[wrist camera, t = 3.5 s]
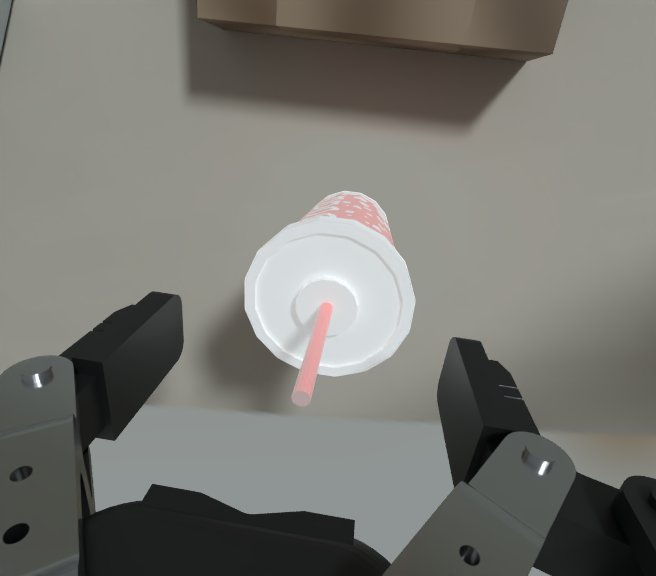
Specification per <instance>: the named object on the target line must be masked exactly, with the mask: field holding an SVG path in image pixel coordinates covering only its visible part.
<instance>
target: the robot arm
mask: <svg viewBox="0 0 656 576" xmlns="http://www.w3.org/2000/svg"><path fill="white" fill-rule="evenodd" d="M183 343H184V337H183V318H182V302H181V298H180V296H179V295H174V294H168V293H161V292H154V291H153V292H151V293H149V294H148V295H147V296H146V297H144V298H143V299H142V300H141V301H139V302H138V303H137V304H136V305H130V306H128V307H125V308H123V309H120V310H118V311H116V312H114V313H113V314H111V315H110V316H109V317H108V318H106V319H105V320H104V321H103V323H100V324H99V325H97V326H96V327H95V328H94V329H93V331H90V332H88V333H87V334H86V335H85V336H83V337H82V338H81V339H80V340H78V341H77V342H76V343H74V344H73V345H72V346H71V347H69V348H68V349H67V350H66V351H64V352H63V353H62V354H60V355H59V356H52V355H49V356H39V357H34V358H30V359H27V360H24V361H21V362H19V363H17V364H15V365H13V366H11V367H9V368H8V369H7V370H5V371H4V372H3V373H2V374H1V375H0V576H528V574H529V572H530V570H531V568H532V567H535V568H537V569H539V570H541V571H543V572H545V573H547V574H549V575H551V576H656V479H653V478H649V477H645V476H631V477H629V478H627V479H626V480H625V481H624V482H623V484H622V486H621V487H620V489H617V488H614V487H612V486H609V485H607V484H604V483H602V482H599V481H597V480H594V479H592V478H589V477H587V476H584V475H582V474H580V473H578V472H576V470H575V466H574V464H573V462H572V460H571V458H570V457H569V456H568V455H567V454H566V452H565V451H563V450H562V449H561V448H560V447H559V446H557V445H556V444H555V443H553V442H552V441H550V440H548V439H546V438H544V437H542V436H540V433H539V431H538V429H537V427H536V425H535V423H534V421H533V419H532V417H531V415H530V413H529V411H528V409H527V407H526V404H525V402H524V400H522V396H521V394H520V392H519V390H518V389H517V386H516V384H515V382H514V380H513V378H512V376H511V374H510V373H509V372H508V371H507V370H506V369H505V368H504V367H503V366H502V365H501V364H500V363H499V362H498V361H493V360H488V357H487V355H486V353H485V350H484V348H483V346H482V343H481V342H480V341H477V340H470V339H463V338H457V337H453V338H452V339H451V340H450V343H449V346H448V350H447V354H446V357H445V361H444V364H443V368H442V372H441V375H440V379H439V383H438V391H437V402H438V407H439V413H440V418H441V423H442V428H443V433H444V438H445V443H446V449H447V453H448V458H449V464H450V469H451V474H452V480H453V485H454V489H453V490H452V492H451V493H450V494H449V495H448V496H447V498H446V499H445V500H444V501H443V502H442V504H441V505H440V506H439V507H438V509H437V510H436V511H435V512H434V513H433V514H432V516H431V517H430V518H429V519H428V521H427V522H426V523H425V524H424V525H423V527H422V528H421V529H420V530H419V532H418V533H417V534H416V535H415V536H414V537H413V539H412V540H411V541H410V542H409V544H408V545H407V546H406V547H405V548H404V550H403V551H402V552H401V553H400V554H399V556H398V557H397V558H396V559H395V560H394V562H393V563H392V564H390V562H388V560H386V559H385V558H384V557H383V556H382V555H380V554H379V553H378V552H376V551H375V550H374V549H373V548H371V547H369V546H368V545H366V544H364V543H363V542H361V541H359V540H357V539H354V524H355V520H350V519H345V518H339V517H334V516H328V515H323V514H317V513H311V512H306V511H300V512H284V513H283V512H282V513H267V514H246V513H243V512H241V511H239V510H237V509H235V508H232V507H230V506H228V505H226V504H224V503H222V502H220V501H218V500H216V499H213V498H211V497H209V496H207V495H205V494H203V493H200V492H195V491H189V490H184V489H178V488H172V487H167V486H161V485H156V484H152V485H151V487H150V489H149V490H148V492H147V494H146V495H145V497H144V499H143V500H142V501H135V502H129V503H124V504H120V505H117V506H113V507H109V508H107V509H104V510H102V511H99V512H96V511H95V501H94V489H93V478H92V467H91V455H90V449H89V445H90V444H91V442H92V441H93V440H94V439H95V438H101V439H107V440H113V441H115V440H116V438H117V437H118V436H119V435H120V433H121V432H122V431H123V430H124V428H125V427H126V426H127V425H128V423H129V422H130V421H131V419H132V418H133V417H134V416H135V414H136V413H137V412H138V411H139V409H140V408H141V407H142V405H143V404H144V403H145V402H146V400H147V399H148V398H149V397H150V395H151V394H152V393H153V391H154V390H155V389H156V388H157V386H158V385H159V384H160V383H161V381H162V380H163V379H164V377H165V376H166V375H167V374H168V372H169V371H170V370H171V369H172V367H173V366H174V365H175V363H176V362H177V361H178V359H179V358H180V355H181V353H182V349H183Z"/></svg>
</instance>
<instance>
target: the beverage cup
mask: <svg viewBox="0 0 656 576" xmlns="http://www.w3.org/2000/svg"><path fill="white" fill-rule="evenodd" d="M414 306H415V296H414V292H413V289H412V285H411V281H410V277H409V273H408V269H407V266H406V262H405V261H404V260H403V258H402V257H401V256H400V255H399V253H398V252H397V251H396V249H395V248H394V244H393V240H392V236H391V233H390V229H389V225H388V221H387V218H386V214H385V213H384V211H383V210H382V209H381V208H380V206H379V205H378V204H377V202H376V201H375V200H373V199H371V198H369V197H367V196H366V195H364V194H362V193H358V192H349V191H342V192H338V193H335V194H331V195H328V196H327V197H325V198H324V199H323V200H322V201H321V202H319V203H318V204H317V205H316V206H315V207H314V208H313V209H311V210H310V211H309V212H308V213H307V214H306V215H305V216H304V217H303V218H302V219H301V220H300V221H299V222H296V223H293V224H289V225H288V226H286V227H285V228H284V229H283V230H281V231H280V232H279V233H278V234H277V235H275V236H274V237H273V238H272V239H271V240H269V241H268V242H267V243H266V244H265V245H264V246H263V247H261V248H260V249H259V250H258V252H257V254H256V256H255V258H254V260H253V262H252V265H251V267H250V269H249V271H248V273H247V275H246V277H245V311H246V313H247V315H248V318H249V320H250V322H251V325H252V327H253V329H254V332H255V334H256V336H257V337H258V338H259V339H260V340H261V341H262V342H263V344H264V345H265V346H266V347H267V348H268V349H269V350H270V351H271V352H272V353H273V354H274V355H275V356H276V357H277V358H278V359H280V360H282V361H284V362H286V363H288V364H290V365H292V366H294V367H296V368H298V369H300V371H299V374H298V377H297V380H296V384H295V387H294V390H293V393H292V401H293V402H294V403H295V404H296V405H298V406H306V405H308V404H309V403H310V401H311V397H312V393H313V389H314V385H315V380H316V376H317V374H322V375H328V376H335V377H337V376H342V375H348V374H353V373H358V372H364V371H367V370H369V369H370V368H372V367H374V366H375V365H377V364H379V363H380V362H382V361H384V360H385V359H387V358H389V357H390V356H392V355H393V353H394V352H395V351H396V349H397V348H398V347H399V345H400V344H401V343H402V341H403V340H404V338H405V337H406V336H407V334H408V333H409V332H410V327H411V322H412V317H413V312H414Z"/></svg>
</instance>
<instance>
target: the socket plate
mask: <svg viewBox="0 0 656 576" xmlns="http://www.w3.org/2000/svg"><path fill="white" fill-rule="evenodd" d="M567 3H568V0H197V18H199V19H202V20H204V21H206V22H208V23H210V24H213V25H215V26H217V27H219V28H221V29H223V30H232V31H241V32H251V33H261V34H270V35H280V36H289V37H299V38H309V39H318V40H328V41H338V42H347V43H357V44H367V45H376V46H386V47H396V48H405V49H415V50H425V51H434V52H444V53H454V54H463V55H473V56H483V57H492V58H502V59H512V60H521V61H530V60H533V59H536V58H540V57H543V56H547V55H550V54H553V51H554V47H555V44H556V40H557V37H558V34H559V30H560V27H561V23H562V20H563V17H564V13H565V10H566V6H567Z"/></svg>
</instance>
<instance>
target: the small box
mask: <svg viewBox="0 0 656 576" xmlns="http://www.w3.org/2000/svg"><path fill="white" fill-rule="evenodd" d="M11 2H12V0H0V55H1V50H2V45H3V40H4V36H5V31H6V26H7V21H8V17H9V12H10V7H11Z"/></svg>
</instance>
